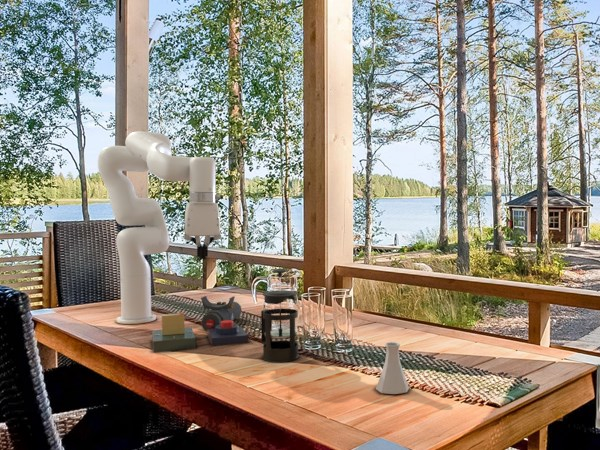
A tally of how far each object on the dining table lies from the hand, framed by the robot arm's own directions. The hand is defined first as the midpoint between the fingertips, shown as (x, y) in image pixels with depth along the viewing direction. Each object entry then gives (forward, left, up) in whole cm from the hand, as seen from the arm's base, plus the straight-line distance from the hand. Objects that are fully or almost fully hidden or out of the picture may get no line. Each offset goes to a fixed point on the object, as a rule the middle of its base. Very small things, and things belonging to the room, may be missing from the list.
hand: (202, 259), depth 172 cm
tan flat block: (+9, -9, -20) cm, 24 cm away
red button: (+9, +6, -20) cm, 22 cm away
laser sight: (-11, +7, -23) cm, 26 cm away
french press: (+33, +16, -23) cm, 43 cm away
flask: (+67, +33, -23) cm, 78 cm away
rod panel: (+9, -9, -23) cm, 26 cm away
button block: (+9, +6, -23) cm, 25 cm away
